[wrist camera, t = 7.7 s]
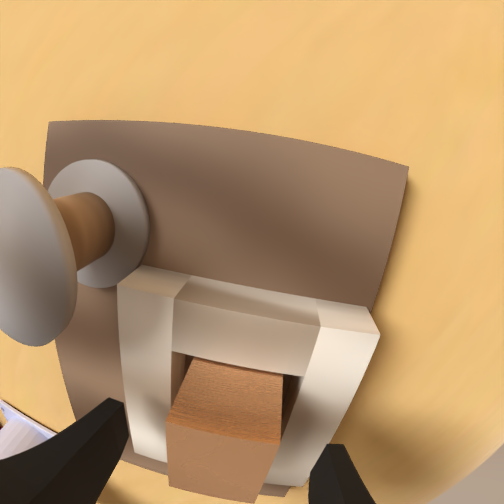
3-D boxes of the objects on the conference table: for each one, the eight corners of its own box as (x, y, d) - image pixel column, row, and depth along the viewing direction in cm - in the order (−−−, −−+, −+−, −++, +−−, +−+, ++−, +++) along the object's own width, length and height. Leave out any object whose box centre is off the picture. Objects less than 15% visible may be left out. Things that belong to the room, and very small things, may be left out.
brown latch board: (284, 485, 16) (280, 558, 10) (90, 435, 17) (54, 493, 11) (398, 166, 10) (498, 177, 4) (62, 122, 11) (-44, 119, 5)
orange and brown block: (264, 411, 13) (254, 503, 8) (199, 399, 13) (169, 485, 8) (283, 342, 11) (280, 444, 7) (207, 328, 12) (165, 421, 7)
